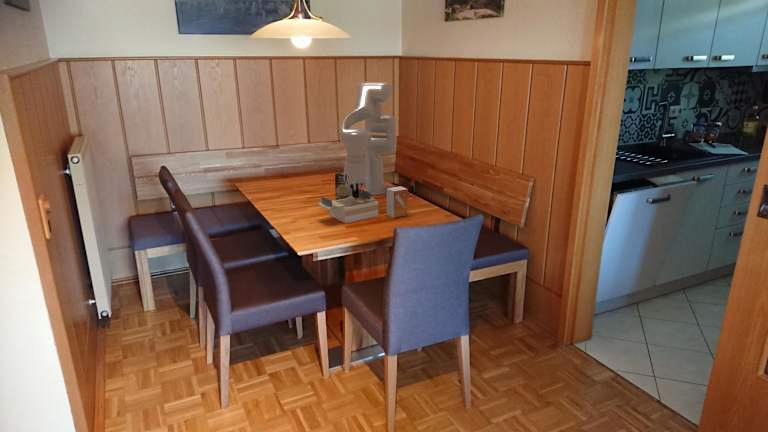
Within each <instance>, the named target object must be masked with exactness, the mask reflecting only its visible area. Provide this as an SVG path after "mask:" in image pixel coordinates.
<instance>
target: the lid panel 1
mask: <svg viewBox="0 0 768 432" xmlns="http://www.w3.org/2000/svg"><path fill="white" fill-rule="evenodd" d="M320 198H321V201H320V202H315V203H316V204H315V205H316V206H319V207H321V208H324V209H326V210H328V211H330V209H335V208H340V207H345V205H343V204H341V203H338V202H336V200H334V199H330V198H327V197H325V196H321V197H320Z"/></svg>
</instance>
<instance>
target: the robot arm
mask: <svg viewBox="0 0 768 432" xmlns="http://www.w3.org/2000/svg"><path fill="white" fill-rule="evenodd" d="M392 95H393V88H392V85H391V83H390V82H388V81H377V82H376V81H364V82H360V83H359V84H358V85H357V93H356V99H355V104H354V109H353V110H352V111H351V112H349V114H348V115H347V116H345V118H344V119H343V121H342V124H341V129H340V132H339V133H340V134H339V140H340V142H341V144H343V145H346V161H345V163H344V168H343V172H344V182H345V186H346V187H350V188H351V189H352V196H353V198H359V195H360V190H361V187H362V186H364V185H365V188H364V189H363V190H364V191H367V192H370V193H371V196H378V195H384V194H385V193H387V188H391V184H390V183H384V161H383V157H382V156H381V155H380V154H392V153H394V152H395V151H396V150H397V149H396V148H397V123H396V122H397V121H396V118H395V116H394V115H392V114H383V113H382V104H381V103H386V102H388V100H390V98H391V96H392ZM362 121H365V128H351V127H352V126H354V125H355V124H356V123H359V122H362ZM371 133H373V134H371ZM374 133H377V134H374ZM379 133H380V134H379ZM381 133H382V134H381ZM384 133H385V134H384ZM364 159H365V160H364Z"/></svg>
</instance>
